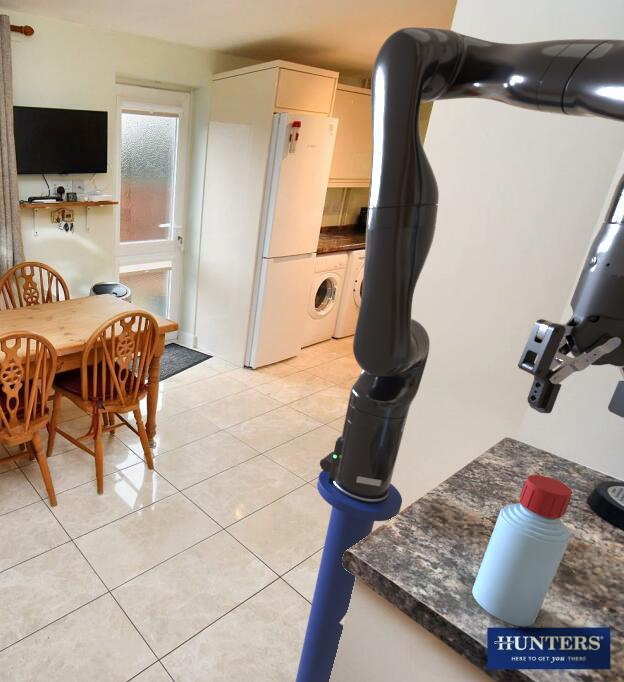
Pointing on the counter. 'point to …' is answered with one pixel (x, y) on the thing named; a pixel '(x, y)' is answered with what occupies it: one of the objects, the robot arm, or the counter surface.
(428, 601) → the counter surface
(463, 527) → the counter surface
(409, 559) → the counter surface
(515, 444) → the counter surface
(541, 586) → the bottle
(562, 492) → the cap
